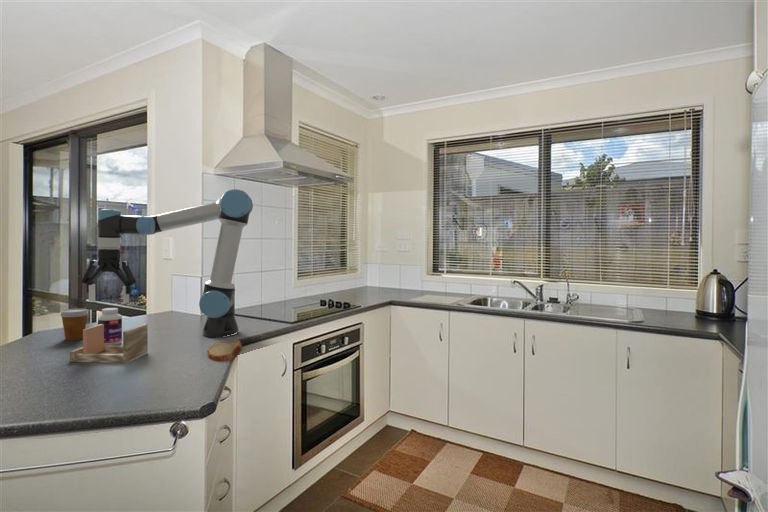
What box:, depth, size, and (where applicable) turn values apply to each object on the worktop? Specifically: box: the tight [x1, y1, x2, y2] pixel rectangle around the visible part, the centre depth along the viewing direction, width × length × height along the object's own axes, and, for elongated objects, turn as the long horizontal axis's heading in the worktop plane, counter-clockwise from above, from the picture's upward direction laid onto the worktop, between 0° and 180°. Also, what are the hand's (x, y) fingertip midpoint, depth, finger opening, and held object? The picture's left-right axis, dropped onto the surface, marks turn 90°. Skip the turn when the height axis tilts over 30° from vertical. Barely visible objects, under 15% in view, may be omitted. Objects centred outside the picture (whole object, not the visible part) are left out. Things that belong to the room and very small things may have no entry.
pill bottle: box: [97, 307, 123, 346], centre depth 168 cm, size 8×8×14 cm
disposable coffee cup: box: [59, 308, 89, 341], centre depth 176 cm, size 10×10×12 cm
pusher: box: [82, 324, 104, 354], centre depth 152 cm, size 1×9×10 cm, turn 0°
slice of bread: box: [207, 340, 243, 362], centre depth 161 cm, size 18×18×4 cm
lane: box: [69, 323, 149, 364], centre depth 152 cm, size 20×12×11 cm, turn 90°
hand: (109, 301), depth 168 cm, fingers open, 13 cm apart
